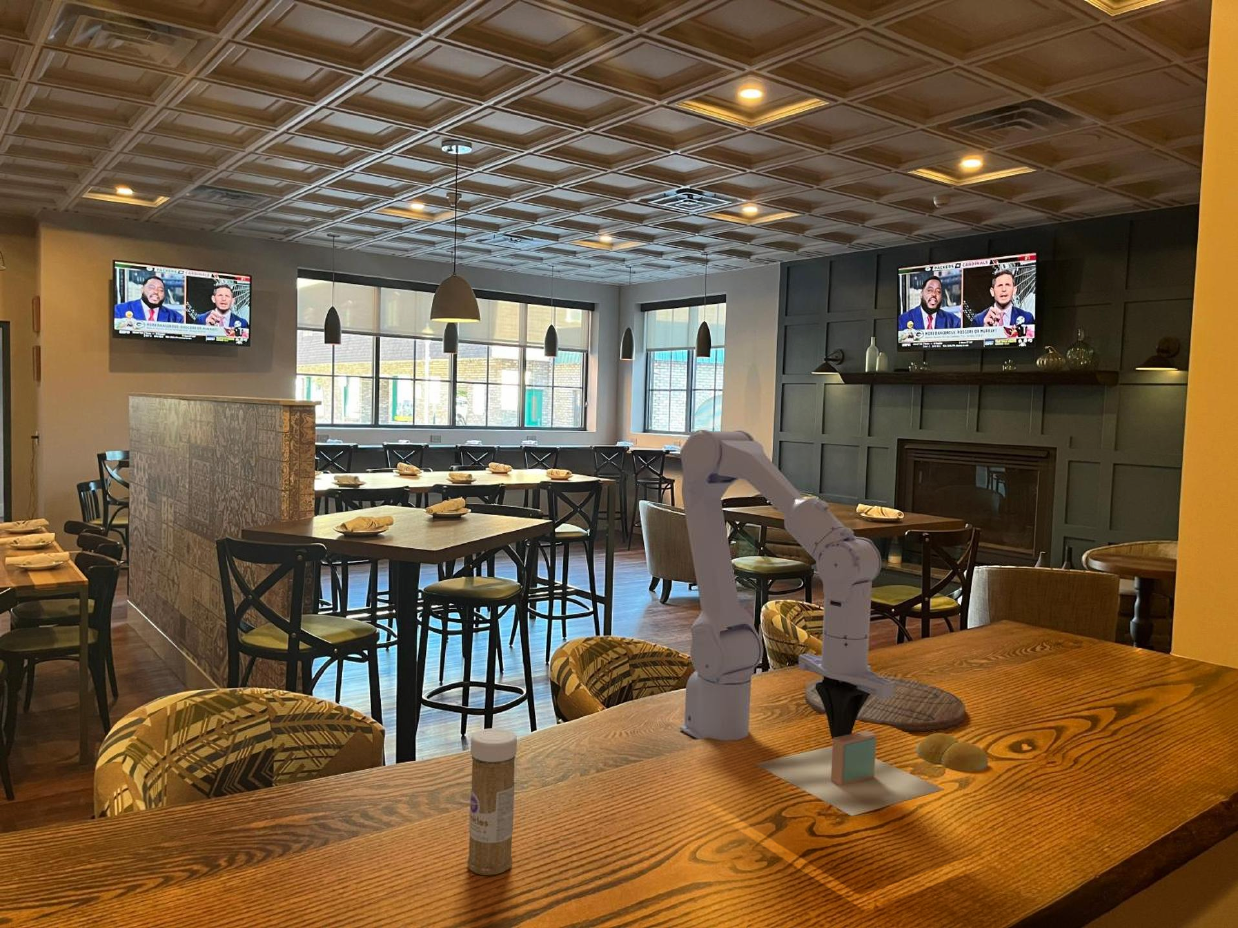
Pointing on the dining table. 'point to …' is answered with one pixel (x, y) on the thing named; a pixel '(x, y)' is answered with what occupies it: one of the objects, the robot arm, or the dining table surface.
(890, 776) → the board
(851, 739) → the block
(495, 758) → the sprinkles bottle
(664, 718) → the dining table surface
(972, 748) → the bread roll
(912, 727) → the trivet
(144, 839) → the dining table surface
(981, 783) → the dining table surface
